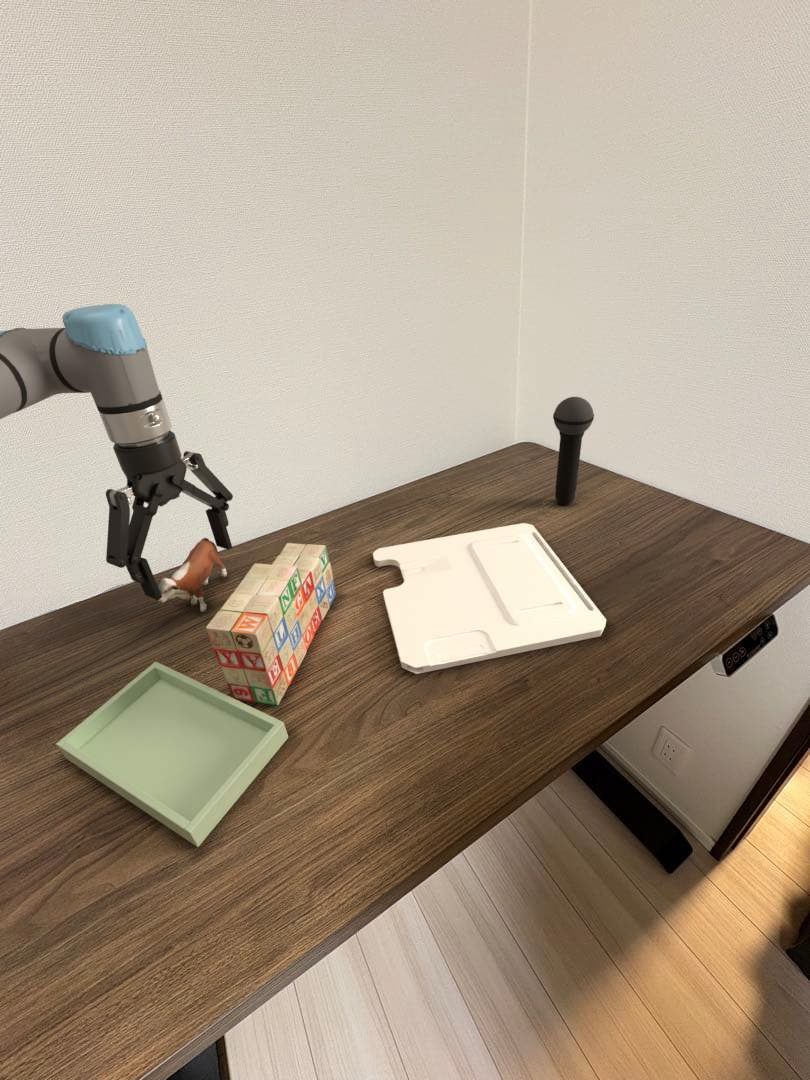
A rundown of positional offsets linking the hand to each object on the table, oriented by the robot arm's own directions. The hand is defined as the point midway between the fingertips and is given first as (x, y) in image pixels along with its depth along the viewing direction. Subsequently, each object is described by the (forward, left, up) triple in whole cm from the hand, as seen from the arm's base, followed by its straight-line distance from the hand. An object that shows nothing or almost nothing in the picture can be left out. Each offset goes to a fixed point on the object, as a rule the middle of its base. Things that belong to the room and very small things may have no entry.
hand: (191, 570), depth 79 cm
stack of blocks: (+19, -1, -6) cm, 20 cm away
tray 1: (+18, -20, -6) cm, 28 cm away
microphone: (+43, +50, -6) cm, 66 cm away
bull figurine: (0, +1, -6) cm, 6 cm away
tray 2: (+38, +20, -6) cm, 43 cm away
